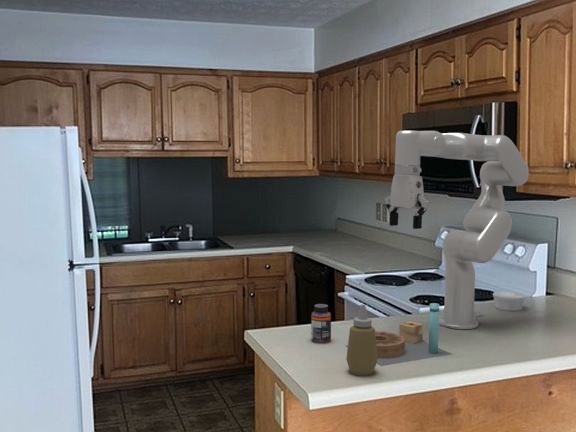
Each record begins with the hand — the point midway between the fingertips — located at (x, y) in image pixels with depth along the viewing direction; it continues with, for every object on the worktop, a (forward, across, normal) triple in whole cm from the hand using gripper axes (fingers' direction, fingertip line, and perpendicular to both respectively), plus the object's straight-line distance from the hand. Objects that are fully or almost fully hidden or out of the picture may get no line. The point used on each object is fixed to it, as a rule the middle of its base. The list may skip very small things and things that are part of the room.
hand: (405, 227), depth 191 cm
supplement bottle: (+35, +10, +24) cm, 44 cm away
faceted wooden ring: (+34, -7, +16) cm, 38 cm away
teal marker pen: (+34, -17, +5) cm, 38 cm away
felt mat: (+34, -10, +12) cm, 38 cm away
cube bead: (+34, -6, +2) cm, 35 cm away
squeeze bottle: (+35, -17, +32) cm, 51 cm away
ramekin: (+34, +2, -59) cm, 68 cm away
